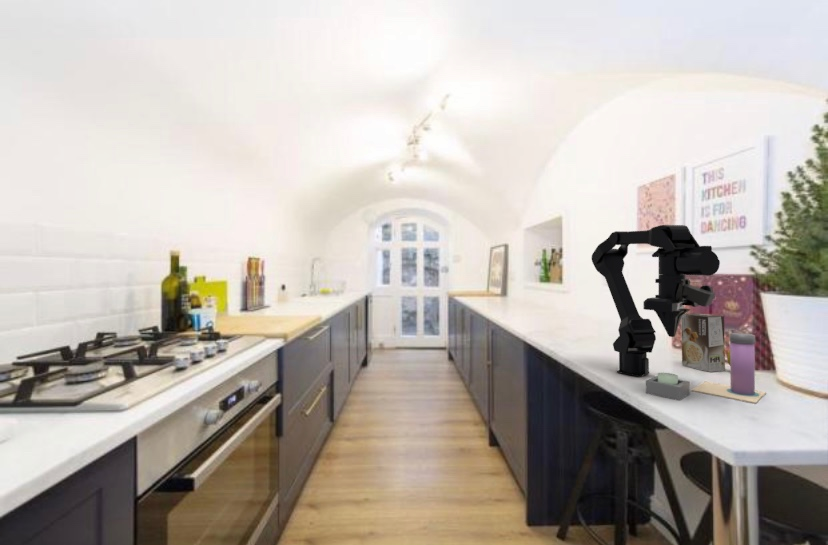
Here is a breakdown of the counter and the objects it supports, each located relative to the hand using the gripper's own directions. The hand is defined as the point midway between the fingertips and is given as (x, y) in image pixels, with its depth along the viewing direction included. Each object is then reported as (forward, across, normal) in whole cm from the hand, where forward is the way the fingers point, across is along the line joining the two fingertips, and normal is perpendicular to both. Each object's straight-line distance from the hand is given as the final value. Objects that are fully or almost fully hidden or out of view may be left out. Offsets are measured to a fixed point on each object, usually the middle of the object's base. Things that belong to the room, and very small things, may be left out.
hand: (671, 336), depth 98 cm
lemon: (+13, +30, -7) cm, 33 cm away
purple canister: (+12, +7, -12) cm, 19 cm away
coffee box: (+13, +28, +2) cm, 31 cm away
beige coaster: (+13, +6, -10) cm, 17 cm away
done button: (+12, -6, -1) cm, 14 cm away
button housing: (+13, -6, -1) cm, 14 cm away
